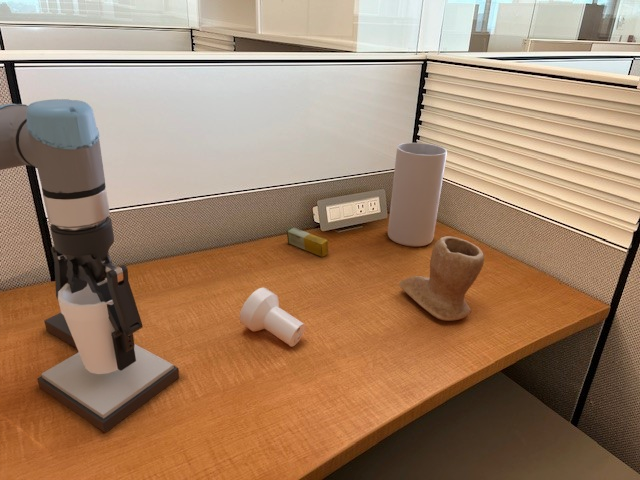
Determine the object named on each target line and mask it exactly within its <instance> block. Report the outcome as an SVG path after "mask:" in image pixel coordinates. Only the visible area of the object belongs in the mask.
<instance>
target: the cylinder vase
mask: <svg viewBox="0 0 640 480" xmlns="http://www.w3.org/2000/svg"><path fill="white" fill-rule="evenodd" d="M447 154H448V150H447V149H446V148H445V147H442V146H439V145H438V144H437V145H436V144H431V143H424V142H404V143H400V144H398V145H397V146H396V156H395V162H394V171H393V180H392V190H391V198H390V208H389V216H388V226H387V236H388V238H389V239H390V240H391V241H392V242H394V243H396V244H399V245H401V246H405V247H414V248H415V247H416V248H417V247H424V246H427V245H430V244H431V243H432V242H433V240H434V237H435V231H436V225H437V224H436V223H437V219H438V218H437V217H438V213H439V211H438V210H439V205H440V199H441V193H442V186H443V180H444V174H445V168H446V160H447Z"/></svg>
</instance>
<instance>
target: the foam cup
mask: <svg viewBox="0 0 640 480" xmlns="http://www.w3.org/2000/svg"><path fill="white" fill-rule="evenodd" d="M105 282H107V281H106V280H104V281H102V282H100V283H97V285H98V286H99V285H101V284H103V283H105ZM57 300H58V301H57V302H58V305H59V310H60V313H62V314H63V315H64V317H65V320H66V322H67V325H68V327H69V329H70V332H71V334H72V337H73V339H74V342H75V344H76V347H77V349H76V350H77V351H78V352H79V354H80V356H81V359H82V361H83V364H84V366H85V368H86V369H87V370H88V371H89V372H90V373H95V374H106V373H110V372H113V371H116V370H118V368H117V362H116V356H115V351H114V345H113V339H112V336H111V334H112V332H114V331H115V330H114V328H113V326H112V324H111V322H110V320H109V318H108V317H109V315H108V309H107V304H109V305H113V304H114V303H113V300H110V301H108V302H104V301H103V302H101V301H100V299H99V297H98V295H97V293H93V292H92V291H91V289H90V287H89V285H88V283H87V286H86V287H85V288H84V289H83V290H80V291H78V292H75V293H72V292H71V289H70V285H69V284H68V283H67V284H65V285H64V286H63V287H62V288H61V289H60V290H59V291H58V299H57ZM78 352H77V353H78Z"/></svg>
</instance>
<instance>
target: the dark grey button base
mask: <svg viewBox="0 0 640 480" xmlns="http://www.w3.org/2000/svg"><path fill="white" fill-rule="evenodd" d="M44 326H45V329H46V332H47V333H49V334H51V335H53V336H54V337H55V338H58V339H60V340H61V341H63V342H64V343H66V344H68V345H70V346H71V347H73V348H75V349H76V350H78V349H77V347H76V344H75V342H74V339H73V337H72V334H71V332H70V329H69V327H68V325H67V322H66V320H65V317H64V315H63V314H62V313H61V312H59V313H57V314H54V315H52V316H51V317H49V318H46V319H44Z"/></svg>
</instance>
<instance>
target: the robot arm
mask: <svg viewBox="0 0 640 480" xmlns="http://www.w3.org/2000/svg"><path fill="white" fill-rule="evenodd" d="M95 117H96V116H95V113H94V109H93V107H92V106H91V105H90V104H89V103H88V102H85V101H83V100H78V99H69V98H66V99H65V98H64V99H63V98H61V99H58V98H57V99H54V98H53V99H45V100H44V99H43V100H38V101H34V102H31V103H30V104H28V105H27V104H23V103H4V104H1V105H0V171H2V170H3V171H4V170H8V169H13V168H18V167H23V166H30V167H33V168H35V169H37V173H38V177H39V181H40V186H41V192H42V197H43V203H44V206H45V211H46V215H47V220H48V223H50V227H49V228H50V233H51V239H52V242H53V246H51V247H50V250H51V254H52V257H53V262H54V263H53V264H54V282H55V297H56V299H57V300H58V291H59V290H60V289H61V288H62V287H63V286H64V285H65V284H67V283H68V284H69V285H70V289H71V292H72V293H75V292H78V291H80V290H83V289H84V288H85V287H86V286H87V283H88V285H89V287H90V289H91V291H92V292H93V293H97V295H98V297H99V299H100V301H101V302H103V301H104V302H108V301H110V300H113V303H114V304H113V305H109V304H107V309H108V315H109V317H108V318H109V320H110V322H111V324H112V326H113V328H114V330H115V331H114V332H112V334H111V336H112V339H113V345H114V351H115V356H116V362H117V368H118V369H119V370H120V371H122V370H123V369H125V368H126V367H128V366H129V365H131V364H132V363H134V362H135V361H136V357H135V351H134V346H135V344H136V343H135V338H134V333H136V332H138V331H139V330H141V329H142V328H143V323H142V319H141V315H140V313H139V309H138V306H137V303H136V300H135V297H134V294H133V290H132V288H131V287H132V286H131V285H130V281H129V270H128V267H127V265H125V264H121V265H119V266H117V265H115V264H114V263H113V261H112V259H111V256H110V253H109V250H110V248H111V247H112V246H113V243H114V242H115V234H114V229H113V223H112V221H113V220H112V218H111V217H110V214H111V212H110V211H111V210H110V205H109V200H108V192H107V191H108V190H107V187H106V177H105V170H104V164H103V155H102V148H101V142H100V131H99V129H98V127H97V122H96V118H95ZM104 280H106V281H107V282H105V283H103V284H101V285H99V286H98V285H97V283H100V282H102V281H104Z"/></svg>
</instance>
